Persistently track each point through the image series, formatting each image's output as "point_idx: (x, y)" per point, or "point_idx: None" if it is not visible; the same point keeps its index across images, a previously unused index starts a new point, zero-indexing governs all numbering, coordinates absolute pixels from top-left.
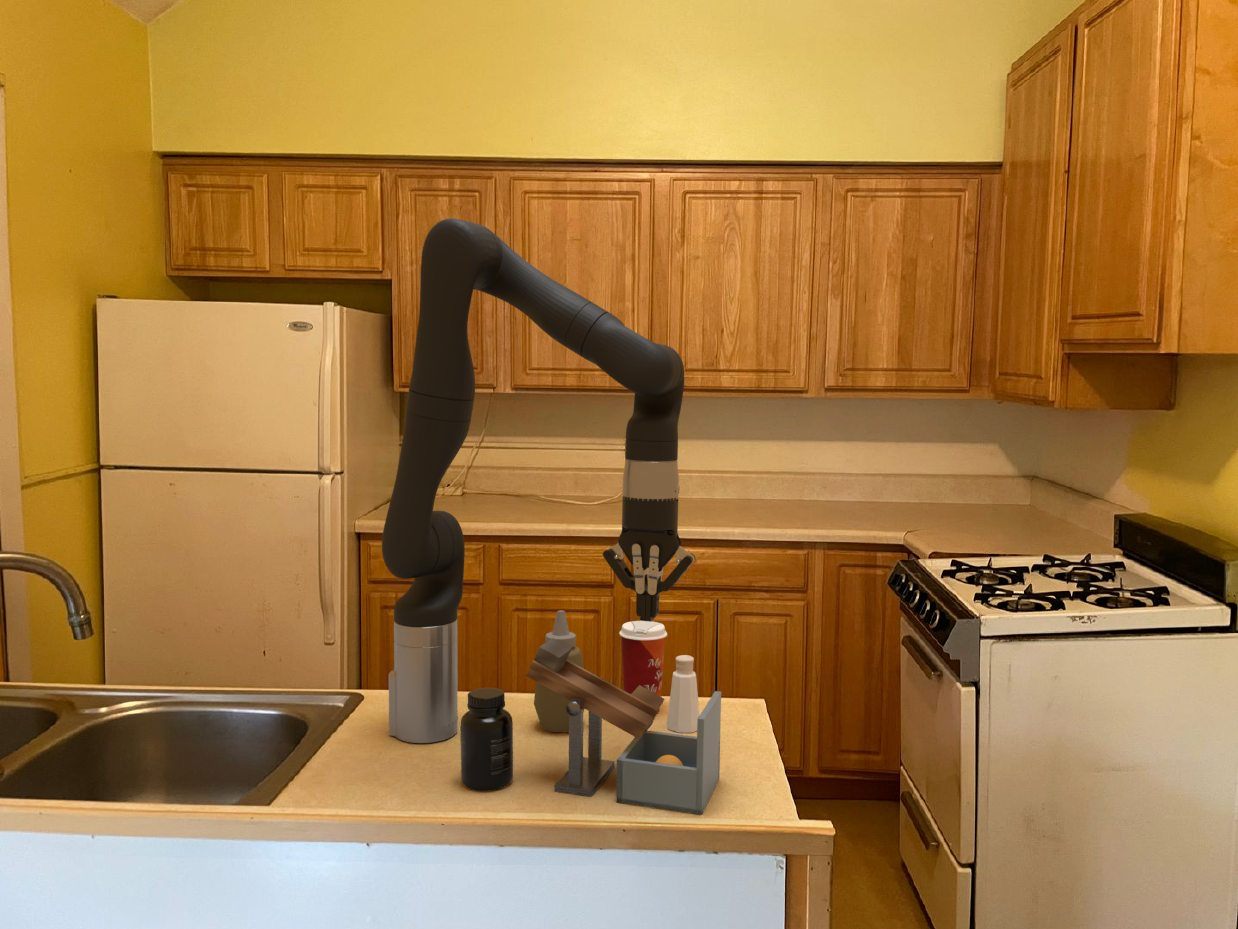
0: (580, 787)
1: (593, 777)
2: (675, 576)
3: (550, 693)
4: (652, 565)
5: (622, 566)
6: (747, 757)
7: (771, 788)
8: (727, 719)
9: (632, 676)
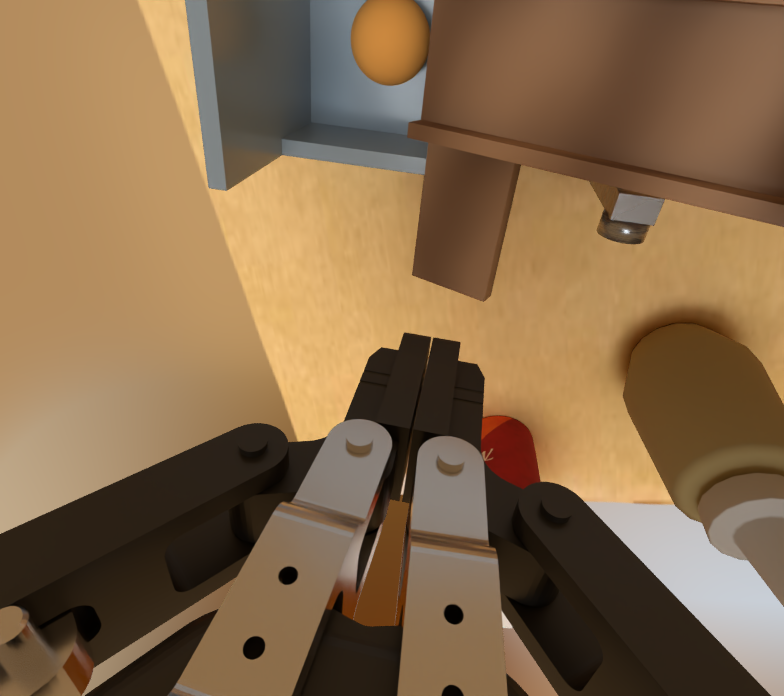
0: None
1: None
2: (125, 501)
3: (739, 369)
4: (281, 618)
5: (623, 688)
6: (273, 258)
7: (194, 111)
8: (341, 416)
9: (519, 476)
